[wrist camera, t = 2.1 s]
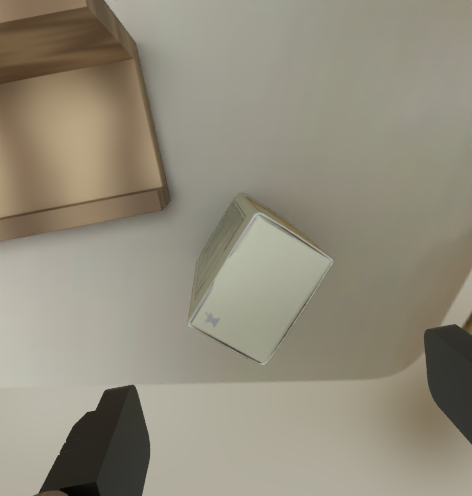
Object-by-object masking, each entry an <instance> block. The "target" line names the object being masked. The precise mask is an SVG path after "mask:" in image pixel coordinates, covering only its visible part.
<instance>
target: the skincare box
mask: <svg viewBox="0 0 472 496" xmlns="http://www.w3.org/2000/svg"><path fill="white" fill-rule="evenodd" d="M332 264H333V259H332V258H331V257H330V256H329V255H328V254H326V253H325V252H324V251H322V250H321V249H320V248H319V247H318V246H316V245H315V244H314V243H313V242H312V241H310V240H309V239H308V238H307V237H305V236H304V235H303V234H302V233H300V232H299V231H298V230H297V229H296V228H294V227H293V226H292V225H291V224H289V223H288V222H287V221H286V220H284V219H283V218H281V217H279V216H278V215H276V214H275V213H273V212H272V211H270V210H269V209H267V208H266V207H264V206H263V205H261V204H259V203H258V202H256V201H255V200H253V199H251V198H250V197H248V196H246V195H245V194H243V193H239V194H238V195H237V196H236V197H235V199H234V200H233V202H232V204H231V205H230V207H229V208H228V210H227V211H226V213H225V215H224V216H223V218H222V219H221V221H220V223H219V224H218V226H217V228H216V229H215V231H214V233H213V234H212V236H211V238H210V239H209V241H208V243H207V245H206V246H205V248H204V250H203V252H202V253H201V255H200V257H199V259H198V261H197V263H196V270H195V277H194V284H193V290H192V297H191V303H190V310H189V317H188V326H189V327H191V328H193V329H195V330H197V331H198V332H200V333H202V334H203V335H205V336H207V337H209V338H211V339H212V340H214V341H216V342H217V343H219V344H221V345H223V346H225V347H226V348H228V349H230V350H232V351H234V352H236V353H238V354H239V355H241V356H243V357H245V358H247V359H249V360H252V361H254V362H256V363H257V364H260V365H262V366H263V365H266V364H267V362H268V361H269V360H270V358H271V357H272V356H273V355H274V353H275V352H276V350H277V349H278V348H279V346H280V345H281V343H282V342H283V341H284V339H285V338H286V336H287V335H288V333H289V332H290V330H291V329H292V327H293V326H294V324H295V323H296V321H297V320H298V318H299V316H300V315H301V313H302V312H303V310H304V309H305V307H306V306H307V304H308V303H309V301H310V299H311V298H312V296H313V295H314V293H315V292H316V290H317V288H318V287H319V285H320V283H321V282H322V280H323V279H324V277H325V275H326V273H327V272H328V270H329V268H330V267H331V265H332Z"/></svg>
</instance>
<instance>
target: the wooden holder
mask: <svg viewBox="0 0 472 496" xmlns="http://www.w3.org/2000/svg"><path fill="white" fill-rule="evenodd" d="M169 202H170V197H169V193H168V188H167V184H166V179H165V174H164V170H163V165H162V161H161V156H160V152H159V147H158V143H157V138H156V134H155V129H154V125H153V120H152V116H151V111H150V106H149V102H148V97H147V93H146V88H145V84H144V79H143V75H142V70H141V66H140V61H139V57H138V52H137V48H136V43H135V41H134V40H133V38H132V37H131V36H130V34H129V33H128V32H127V30H126V29H125V28H124V26H123V25H122V24H121V22H120V21H119V20H118V18H117V17H116V16H115V14H114V13H113V11H112V10H111V9H110V7H109V6H108V5H107V3H106V2H105V1H104V0H0V241H4V240H9V239H14V238H19V237H25V236H30V235H35V234H40V233H46V232H51V231H56V230H61V229H67V228H72V227H77V226H82V225H88V224H93V223H98V222H103V221H109V220H114V219H119V218H124V217H130V216H135V215H140V214H145V213H151V212H156V211H161V210H162V209H163V208H164V207H165V206H166V205H167V204H168V203H169Z"/></svg>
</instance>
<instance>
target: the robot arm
mask: <svg viewBox="0 0 472 496" xmlns="http://www.w3.org/2000/svg"><path fill="white" fill-rule="evenodd" d="M424 344H425V355H426V366H427V378H428V385H429V389H430V392H431V394H432V397H433V399H434V401H435V402H436V404H437V405H438V406H439V408H440V409H441V410H442V411H443V412H444V413H445V414H446V415H447V417H448V418H449V419H450V420H451V421H452V422H453V424H454V425H455V426H456V427H457V428H458V429H459V430H460V432H461V433H462V434H463V435H464V436H465V437H466V438H467V440H468V441H469V442H470V443H471V444H472V336H471V335H470V334H469V333H467V332H466V331H464V330H463V329H462V328H460V327H459V326H457V325H455V324H453V325H448V326H442V327H437V328H432V329H427V330H426V331H425V333H424ZM149 460H150V441H149V435H148V431H147V427H146V423H145V419H144V415H143V411H142V408H141V404H140V400H139V396H138V393H137V390H136V387H135V386H134V385H128V386H123V387H117V388H112V389H107V390H105V391H104V393H103V395H102V397H101V400H100V402H99V404H98V407H97V408H96V410H95V411H91V412H87V413H86V414H85V415H84V416H83V417H82V418H81V419H80V420H79V421H78V422H77V423H76V424H75V425H74V426H73V427H72V430H71V431H70V433H69V435H68V437H67V439H66V443H64V445H63V447H62V449H61V451H60V455H58V456H57V458H56V460H55V462H54V464H53V466H52V468H51V470H50V472H49V474H48V476H47V478H46V480H45V482H44V484H43V486H42V488H41V489H40V491H39V493H38V494H36V495H34V496H142V493H143V488H144V483H145V478H146V474H147V469H148V464H149Z"/></svg>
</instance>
